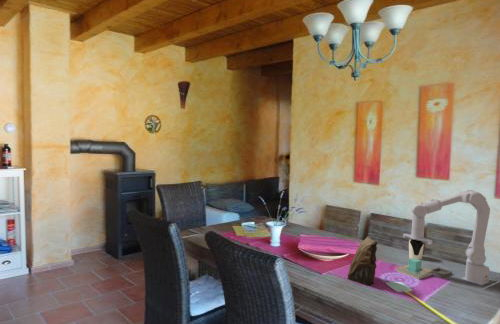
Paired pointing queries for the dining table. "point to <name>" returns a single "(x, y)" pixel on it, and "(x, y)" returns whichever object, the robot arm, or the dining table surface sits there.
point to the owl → (364, 263)
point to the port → (417, 275)
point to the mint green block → (414, 265)
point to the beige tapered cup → (411, 253)
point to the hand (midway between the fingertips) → (416, 254)
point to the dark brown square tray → (441, 272)
